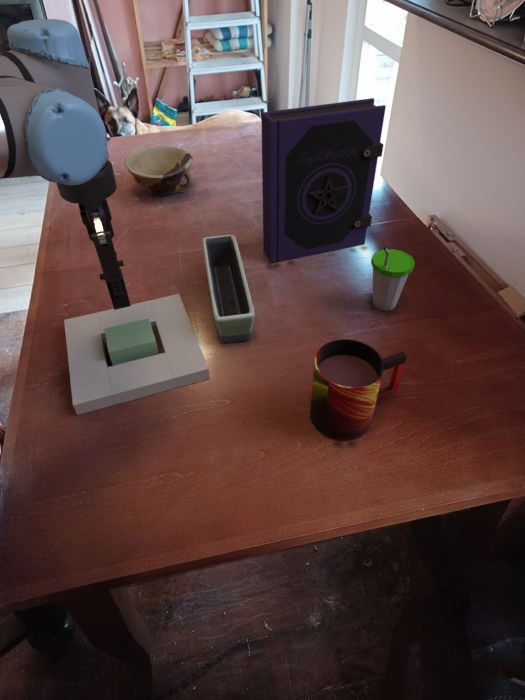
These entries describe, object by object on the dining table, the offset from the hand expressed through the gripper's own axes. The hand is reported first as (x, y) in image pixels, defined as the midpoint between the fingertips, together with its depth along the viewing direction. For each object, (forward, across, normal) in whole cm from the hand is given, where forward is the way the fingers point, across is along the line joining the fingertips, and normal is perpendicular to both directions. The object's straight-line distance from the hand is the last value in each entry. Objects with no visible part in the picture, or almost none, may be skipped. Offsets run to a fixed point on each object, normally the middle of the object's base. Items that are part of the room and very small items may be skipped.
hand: (121, 305), depth 79 cm
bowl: (+11, +61, -18) cm, 64 cm away
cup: (+11, -4, -49) cm, 50 cm away
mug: (+11, -25, -30) cm, 41 cm away
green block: (+11, 0, 0) cm, 11 cm away
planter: (+11, +8, -20) cm, 24 cm away
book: (+11, +20, -45) cm, 50 cm away
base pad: (+11, 0, 0) cm, 11 cm away
